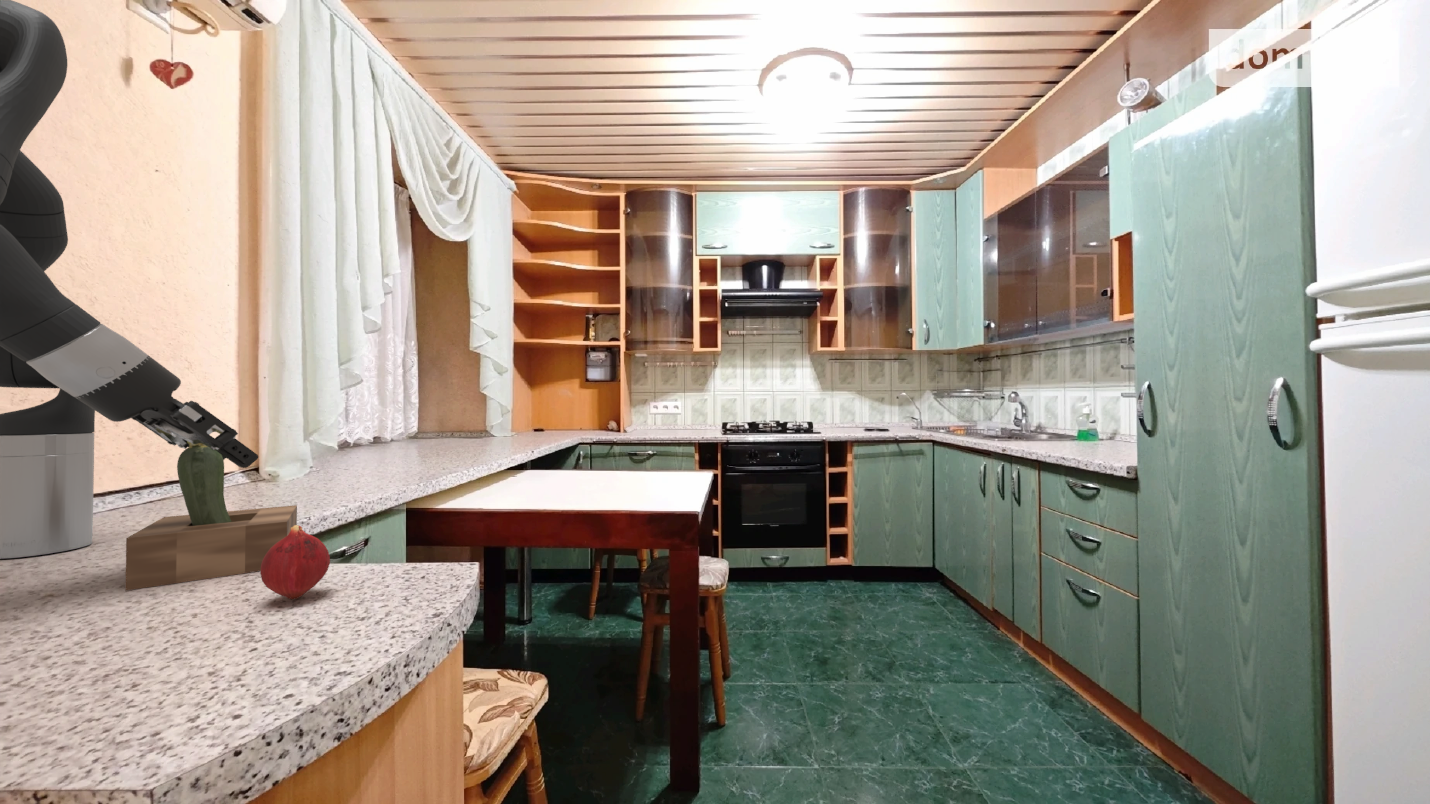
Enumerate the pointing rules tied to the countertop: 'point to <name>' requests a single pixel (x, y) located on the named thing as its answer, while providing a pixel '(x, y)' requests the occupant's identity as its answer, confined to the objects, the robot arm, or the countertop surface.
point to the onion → (295, 564)
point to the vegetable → (203, 484)
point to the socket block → (204, 546)
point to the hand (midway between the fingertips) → (236, 461)
